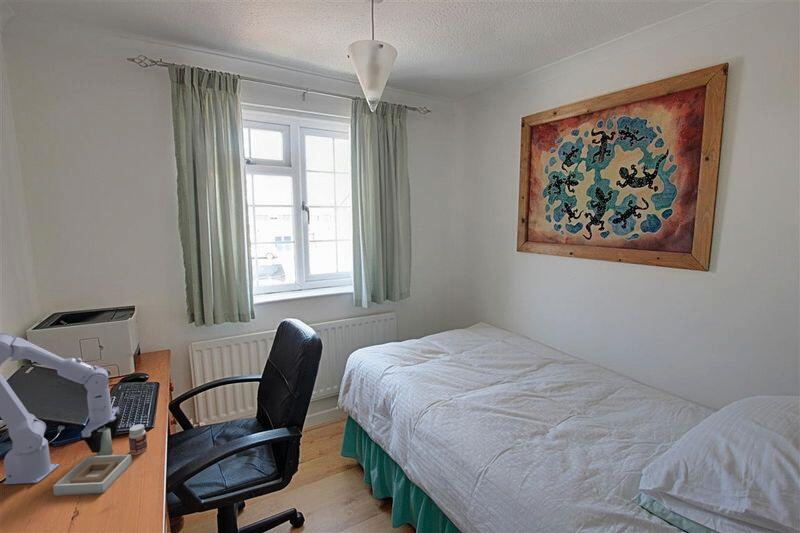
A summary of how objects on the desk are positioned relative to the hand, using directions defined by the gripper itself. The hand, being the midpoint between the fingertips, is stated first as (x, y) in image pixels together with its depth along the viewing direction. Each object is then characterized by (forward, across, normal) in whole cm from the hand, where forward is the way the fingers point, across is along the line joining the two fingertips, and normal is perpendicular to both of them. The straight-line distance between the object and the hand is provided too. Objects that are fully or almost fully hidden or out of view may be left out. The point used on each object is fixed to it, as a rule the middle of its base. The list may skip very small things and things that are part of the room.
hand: (104, 444), depth 124 cm
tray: (+3, -12, -5) cm, 13 cm away
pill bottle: (+3, +1, -10) cm, 11 cm away
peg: (+3, 0, 0) cm, 3 cm away
